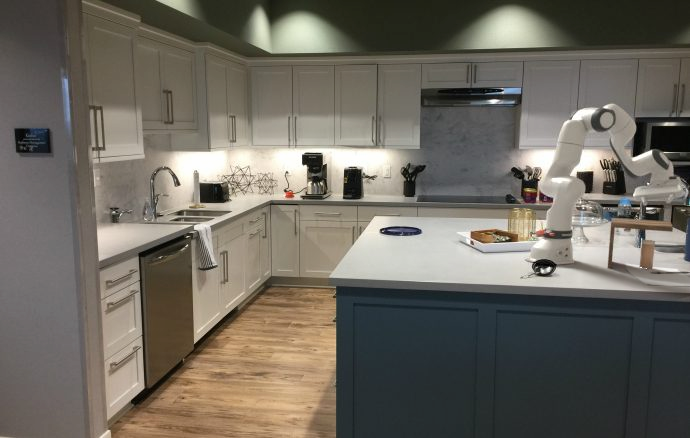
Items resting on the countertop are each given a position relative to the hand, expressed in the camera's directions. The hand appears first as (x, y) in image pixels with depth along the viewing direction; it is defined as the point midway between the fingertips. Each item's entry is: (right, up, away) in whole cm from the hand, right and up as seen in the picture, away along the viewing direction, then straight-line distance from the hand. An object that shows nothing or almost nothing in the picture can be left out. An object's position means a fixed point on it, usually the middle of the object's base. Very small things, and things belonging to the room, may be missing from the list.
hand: (656, 203), depth 256 cm
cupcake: (-35, -20, +45) cm, 60 cm away
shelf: (-13, -28, -8) cm, 32 cm away
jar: (-9, -28, -9) cm, 31 cm away
